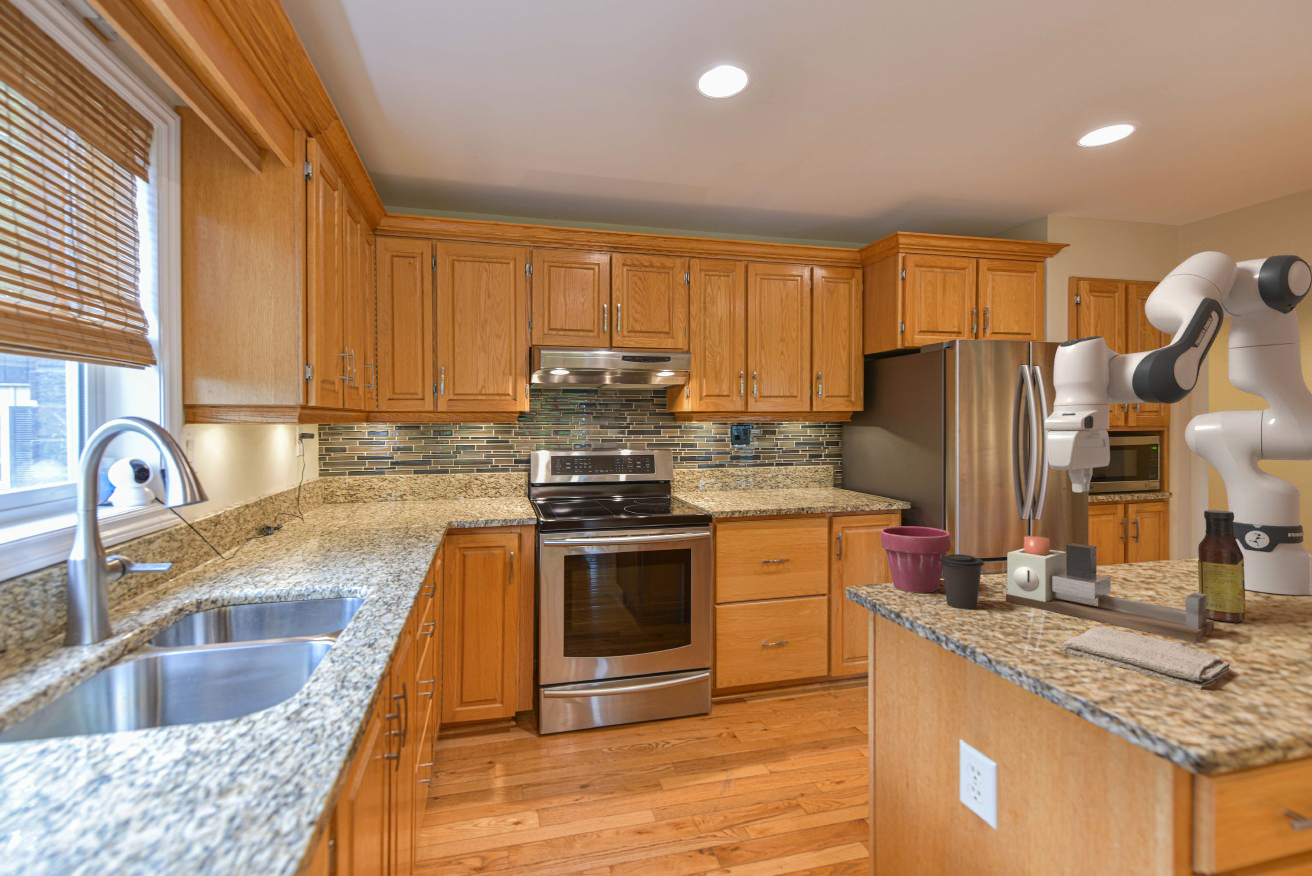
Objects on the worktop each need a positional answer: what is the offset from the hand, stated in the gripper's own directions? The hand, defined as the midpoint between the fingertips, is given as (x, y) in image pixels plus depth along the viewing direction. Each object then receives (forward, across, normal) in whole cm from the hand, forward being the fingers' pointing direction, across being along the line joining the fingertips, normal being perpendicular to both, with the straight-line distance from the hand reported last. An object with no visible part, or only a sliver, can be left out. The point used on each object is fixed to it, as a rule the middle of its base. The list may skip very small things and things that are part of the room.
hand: (1080, 491), depth 116 cm
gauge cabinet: (+23, 0, -8) cm, 24 cm away
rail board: (+23, 0, +3) cm, 23 cm away
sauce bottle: (+23, -15, +17) cm, 33 cm away
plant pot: (+23, +10, -29) cm, 38 cm away
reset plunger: (+16, 0, -8) cm, 18 cm away
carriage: (+21, 0, 0) cm, 21 cm away
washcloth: (+24, +22, +16) cm, 36 cm away
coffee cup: (+23, +15, -16) cm, 32 cm away
